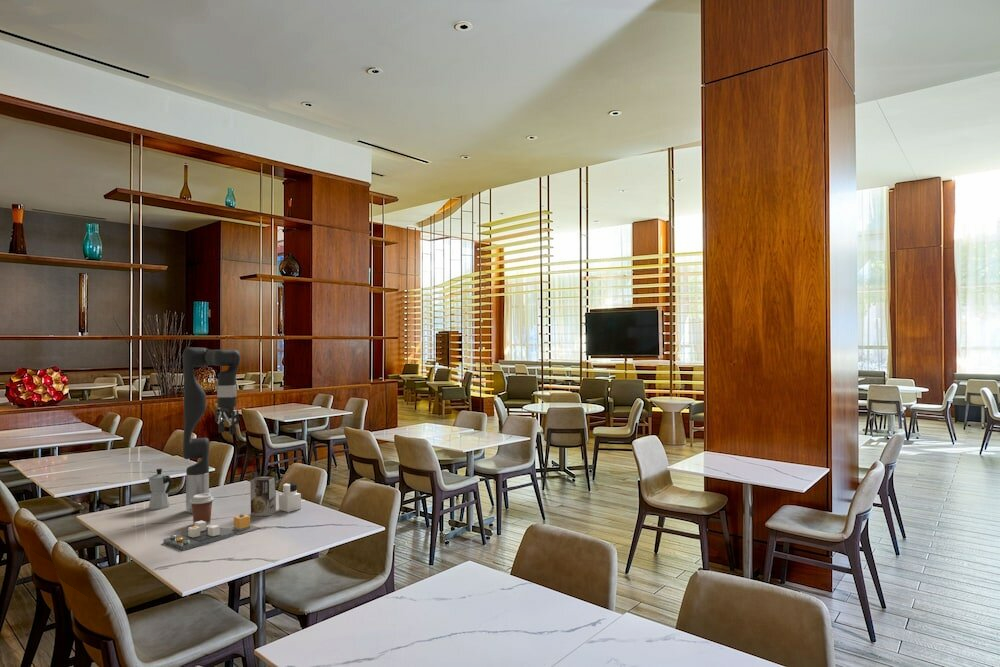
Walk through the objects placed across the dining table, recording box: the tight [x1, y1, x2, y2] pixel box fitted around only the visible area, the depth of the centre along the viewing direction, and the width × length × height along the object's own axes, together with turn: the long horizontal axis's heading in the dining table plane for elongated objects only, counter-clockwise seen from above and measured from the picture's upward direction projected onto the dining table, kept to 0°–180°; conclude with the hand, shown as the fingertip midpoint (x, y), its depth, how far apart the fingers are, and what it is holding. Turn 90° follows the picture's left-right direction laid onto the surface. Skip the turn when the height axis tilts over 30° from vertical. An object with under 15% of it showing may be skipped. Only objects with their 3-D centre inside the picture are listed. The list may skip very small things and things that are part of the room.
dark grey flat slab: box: [162, 526, 235, 551], centre depth 226 cm, size 15×20×2 cm
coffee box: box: [250, 476, 277, 517], centre depth 260 cm, size 9×6×16 cm
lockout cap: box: [233, 513, 251, 531], centre depth 238 cm, size 5×5×6 cm
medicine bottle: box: [278, 482, 302, 513], centre depth 267 cm, size 7×7×12 cm
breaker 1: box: [195, 520, 207, 531], centre depth 232 cm, size 4×3×3 cm
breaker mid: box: [187, 525, 200, 538], centre depth 225 cm, size 4×3×3 cm
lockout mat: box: [226, 524, 261, 536], centre depth 238 cm, size 10×10×1 cm
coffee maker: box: [147, 468, 174, 511], centre depth 272 cm, size 15×9×18 cm, turn 67°
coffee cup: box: [190, 492, 215, 526], centre depth 246 cm, size 9×9×12 cm
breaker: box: [207, 524, 220, 536], centre depth 226 cm, size 4×3×3 cm
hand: (226, 433), depth 249 cm, fingers open, 8 cm apart
